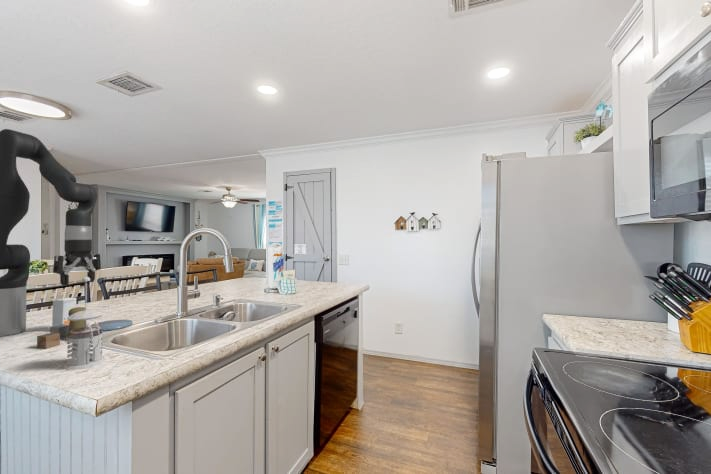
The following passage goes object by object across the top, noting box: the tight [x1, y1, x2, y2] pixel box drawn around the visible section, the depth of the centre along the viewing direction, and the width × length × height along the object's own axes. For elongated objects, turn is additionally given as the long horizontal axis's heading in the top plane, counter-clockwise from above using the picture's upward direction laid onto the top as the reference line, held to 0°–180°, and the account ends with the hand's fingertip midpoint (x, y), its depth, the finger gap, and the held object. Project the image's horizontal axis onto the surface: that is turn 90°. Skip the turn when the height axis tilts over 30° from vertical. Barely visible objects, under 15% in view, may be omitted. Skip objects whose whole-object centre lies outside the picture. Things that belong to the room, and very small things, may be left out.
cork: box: [66, 306, 88, 341], centre depth 116 cm, size 6×6×11 cm
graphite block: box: [49, 324, 69, 339], centre depth 117 cm, size 4×4×4 cm
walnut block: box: [36, 332, 61, 350], centre depth 107 cm, size 4×4×4 cm
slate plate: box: [88, 319, 133, 332], centre depth 131 cm, size 14×14×1 cm
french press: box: [62, 276, 107, 371], centre depth 93 cm, size 10×12×25 cm
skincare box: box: [51, 297, 77, 327], centre depth 126 cm, size 6×4×12 cm
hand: (78, 283), depth 116 cm, fingers open, 8 cm apart
